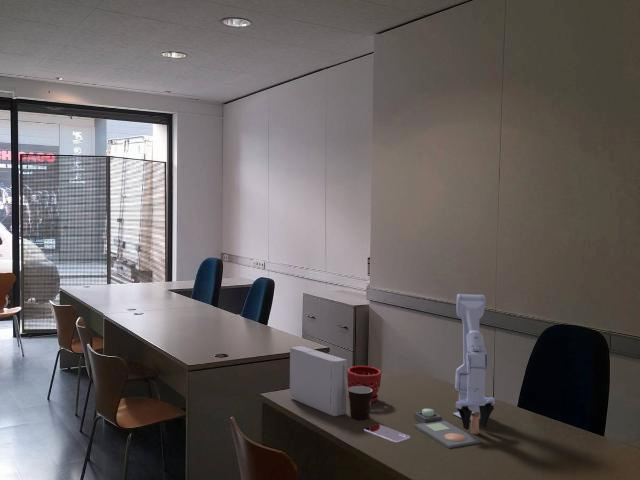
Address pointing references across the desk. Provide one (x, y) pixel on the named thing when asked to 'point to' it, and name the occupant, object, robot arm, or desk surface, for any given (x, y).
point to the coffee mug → (360, 402)
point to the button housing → (422, 419)
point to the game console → (318, 380)
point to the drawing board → (447, 434)
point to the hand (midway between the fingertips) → (474, 427)
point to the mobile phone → (386, 433)
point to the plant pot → (365, 379)
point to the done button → (428, 413)
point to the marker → (475, 422)
